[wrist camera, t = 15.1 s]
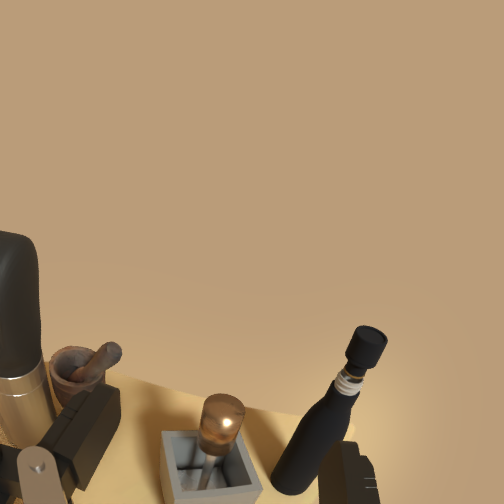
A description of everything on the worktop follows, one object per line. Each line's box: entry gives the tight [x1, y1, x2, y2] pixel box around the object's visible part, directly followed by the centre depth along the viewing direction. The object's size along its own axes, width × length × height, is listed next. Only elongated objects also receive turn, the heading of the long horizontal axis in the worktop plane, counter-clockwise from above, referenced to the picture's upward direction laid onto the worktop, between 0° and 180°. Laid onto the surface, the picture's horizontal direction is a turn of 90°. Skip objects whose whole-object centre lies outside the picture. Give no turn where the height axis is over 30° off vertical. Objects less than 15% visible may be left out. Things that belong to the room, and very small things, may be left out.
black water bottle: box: [271, 325, 388, 495], centre depth 37 cm, size 6×6×30 cm
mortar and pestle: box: [49, 342, 122, 408], centre depth 40 cm, size 12×9×20 cm
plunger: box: [177, 394, 245, 492], centre depth 31 cm, size 7×7×19 cm
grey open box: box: [159, 430, 263, 504], centre depth 33 cm, size 10×10×12 cm
